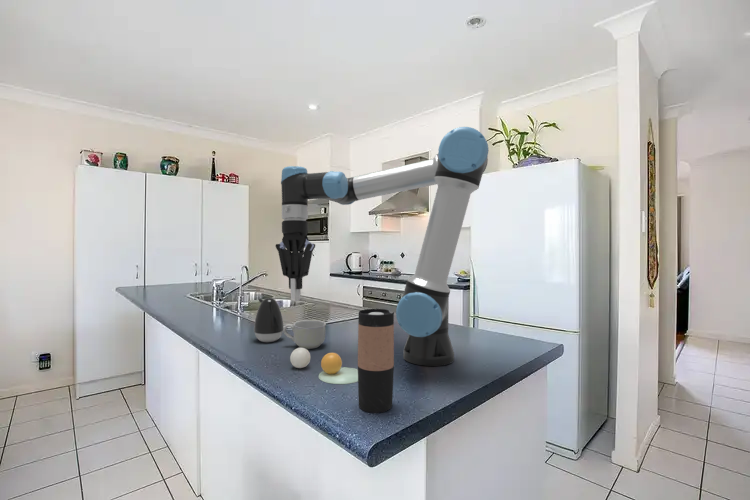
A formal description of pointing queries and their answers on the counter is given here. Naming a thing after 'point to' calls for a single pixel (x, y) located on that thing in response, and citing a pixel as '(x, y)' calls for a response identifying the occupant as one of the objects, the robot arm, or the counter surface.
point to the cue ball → (300, 357)
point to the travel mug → (375, 359)
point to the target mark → (340, 376)
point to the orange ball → (331, 363)
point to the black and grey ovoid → (268, 321)
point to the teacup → (307, 333)
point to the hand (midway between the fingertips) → (295, 300)
